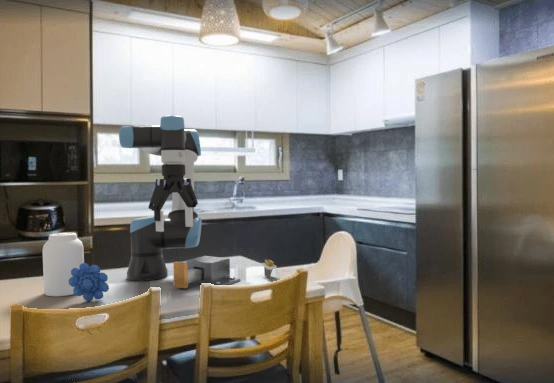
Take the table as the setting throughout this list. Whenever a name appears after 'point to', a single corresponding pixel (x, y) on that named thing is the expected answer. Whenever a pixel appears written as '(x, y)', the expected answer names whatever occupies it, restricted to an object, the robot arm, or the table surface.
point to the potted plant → (268, 268)
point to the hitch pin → (186, 274)
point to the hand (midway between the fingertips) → (175, 229)
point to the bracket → (213, 270)
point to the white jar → (61, 262)
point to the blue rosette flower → (88, 282)
